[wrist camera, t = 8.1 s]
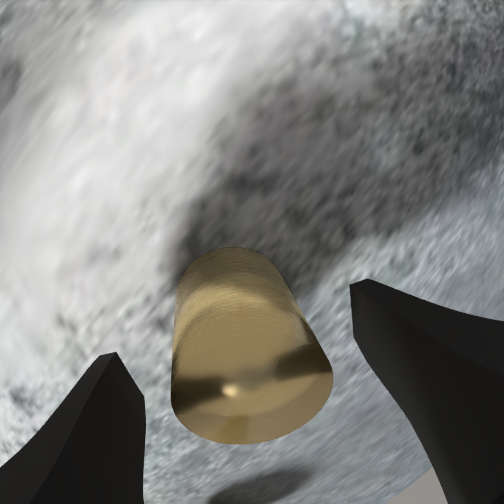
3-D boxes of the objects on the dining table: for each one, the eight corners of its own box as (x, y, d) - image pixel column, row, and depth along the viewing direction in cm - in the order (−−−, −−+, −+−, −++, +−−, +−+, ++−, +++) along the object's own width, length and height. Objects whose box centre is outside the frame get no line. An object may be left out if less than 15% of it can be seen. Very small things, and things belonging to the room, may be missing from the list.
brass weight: (271, 233, 11) (324, 309, 7) (292, 324, 13) (337, 418, 8) (159, 266, 11) (142, 362, 6) (196, 352, 13) (204, 455, 8)
